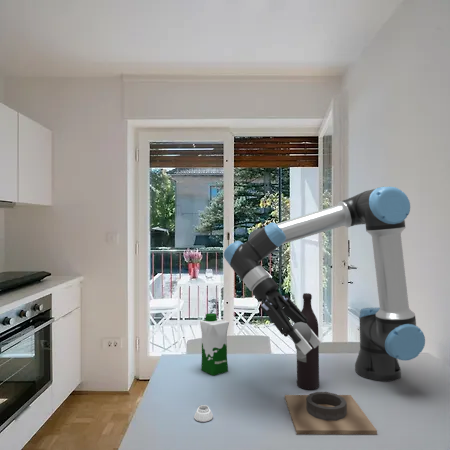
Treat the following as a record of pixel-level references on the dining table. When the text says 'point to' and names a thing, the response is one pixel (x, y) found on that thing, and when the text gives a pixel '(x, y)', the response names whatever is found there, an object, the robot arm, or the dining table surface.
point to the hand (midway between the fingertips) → (313, 348)
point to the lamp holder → (327, 414)
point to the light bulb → (306, 334)
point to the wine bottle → (310, 363)
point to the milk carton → (214, 345)
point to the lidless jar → (203, 414)
